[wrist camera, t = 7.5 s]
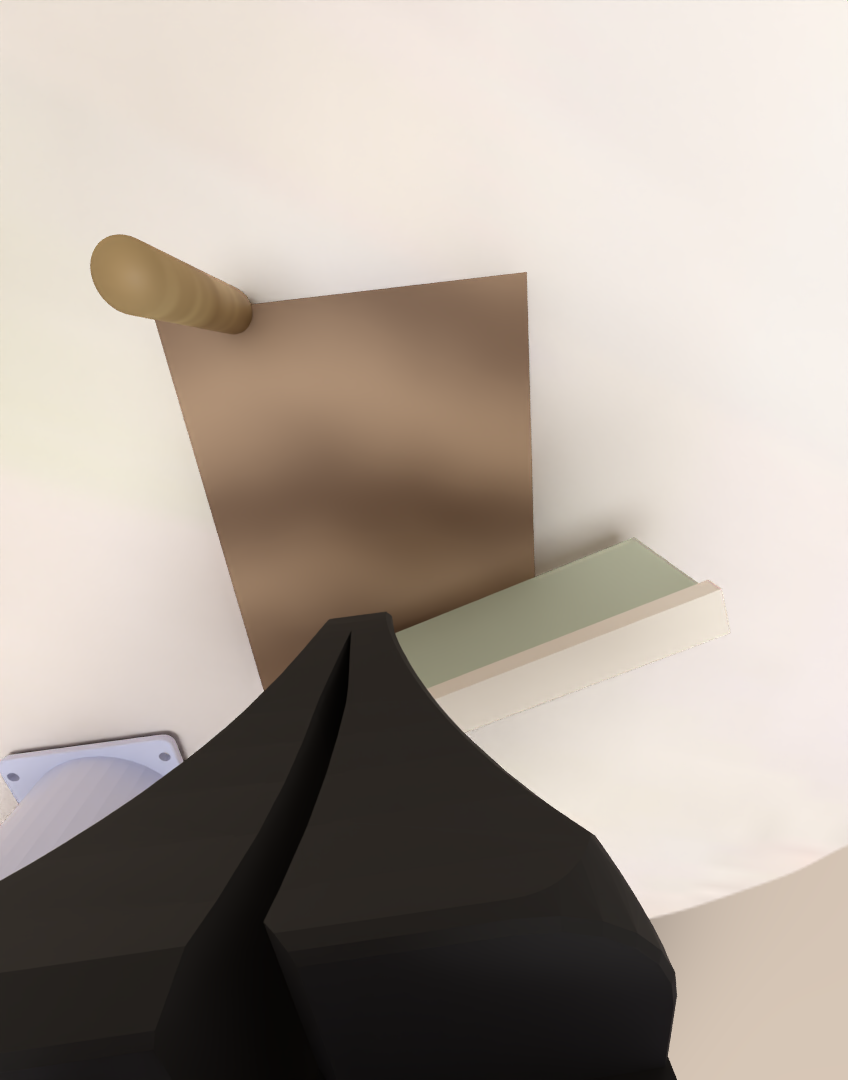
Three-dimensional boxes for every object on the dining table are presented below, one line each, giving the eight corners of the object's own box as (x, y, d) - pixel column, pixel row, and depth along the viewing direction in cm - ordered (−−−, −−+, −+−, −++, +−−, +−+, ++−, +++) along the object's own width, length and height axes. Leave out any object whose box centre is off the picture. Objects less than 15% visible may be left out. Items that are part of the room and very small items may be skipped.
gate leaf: (386, 666, 19) (383, 763, 14) (369, 636, 19) (361, 727, 14) (643, 564, 18) (730, 633, 13) (634, 529, 18) (722, 588, 13)
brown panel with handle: (530, 646, 21) (592, 772, 15) (270, 680, 21) (215, 823, 14) (518, 257, 15) (609, 178, 9) (162, 298, 15) (-11, 248, 9)
